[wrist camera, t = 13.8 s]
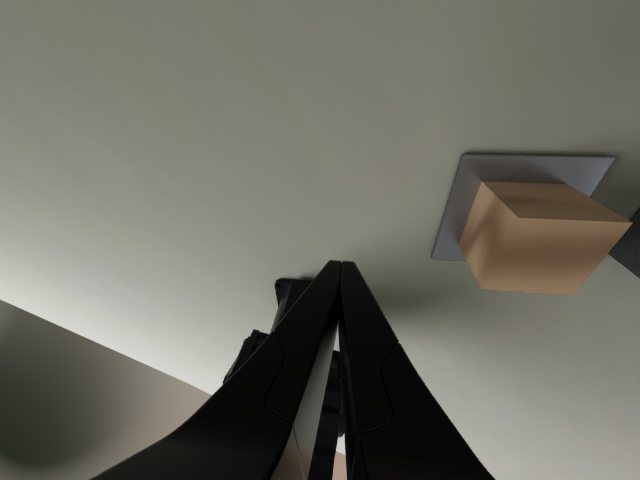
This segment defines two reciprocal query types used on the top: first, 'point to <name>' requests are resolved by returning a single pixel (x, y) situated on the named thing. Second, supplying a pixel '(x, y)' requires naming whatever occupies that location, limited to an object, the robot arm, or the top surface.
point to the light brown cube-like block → (537, 237)
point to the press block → (629, 247)
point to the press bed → (509, 168)
